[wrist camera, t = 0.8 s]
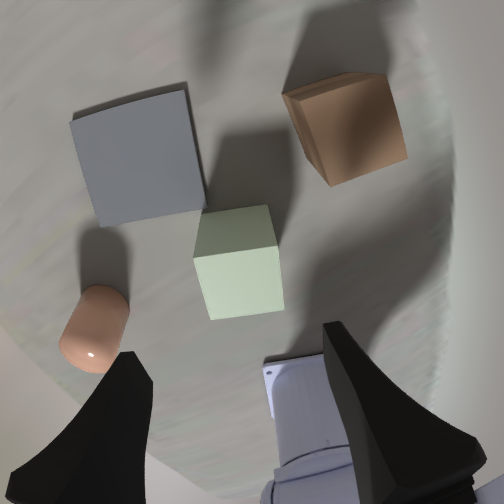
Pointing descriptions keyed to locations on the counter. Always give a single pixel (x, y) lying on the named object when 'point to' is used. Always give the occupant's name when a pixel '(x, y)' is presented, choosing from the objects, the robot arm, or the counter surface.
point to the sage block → (238, 262)
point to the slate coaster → (140, 159)
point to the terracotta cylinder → (95, 329)
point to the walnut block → (347, 125)
